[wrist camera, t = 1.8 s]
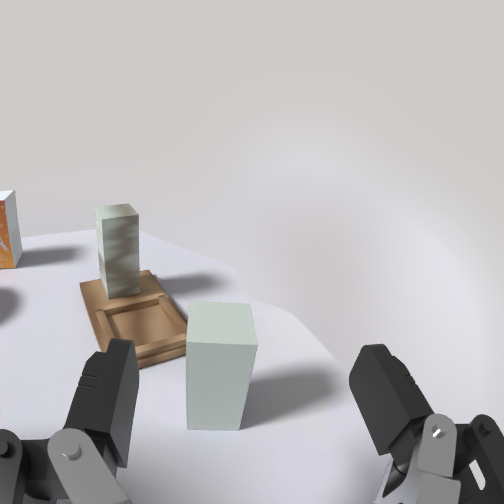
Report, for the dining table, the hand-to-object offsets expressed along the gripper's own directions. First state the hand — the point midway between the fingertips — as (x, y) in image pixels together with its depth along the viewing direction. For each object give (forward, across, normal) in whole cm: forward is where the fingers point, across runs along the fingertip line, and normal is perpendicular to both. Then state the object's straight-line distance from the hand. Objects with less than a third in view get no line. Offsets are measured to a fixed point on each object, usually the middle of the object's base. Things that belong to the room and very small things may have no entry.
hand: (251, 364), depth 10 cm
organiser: (+26, +11, +19) cm, 34 cm away
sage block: (+11, 0, +19) cm, 22 cm away
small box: (+36, +41, +19) cm, 58 cm away
